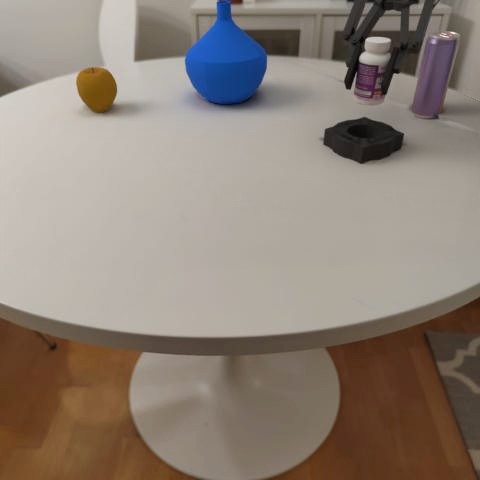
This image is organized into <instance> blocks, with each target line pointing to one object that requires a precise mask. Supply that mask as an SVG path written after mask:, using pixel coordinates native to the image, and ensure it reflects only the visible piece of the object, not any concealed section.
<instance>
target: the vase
mask: <svg viewBox="0 0 480 480" xmlns="http://www.w3.org/2000/svg"><path fill="white" fill-rule="evenodd" d="M186 51H187V52H186V53H185V58H184V64H185V72H186V75H187V77H188V79H189V81H190V83H191V85H192V87H193V88H194V89H195V90H196V92H197V93H198V94H199V95H200V96H201V97H203V98H204V99H205V100H206V101H208V102H210V103H214V104H219V105H232V104H238V103H239V104H240V103H242V102H244V101H247V100H248V99H250V97H252V96H253V95H254V94H255V93H256V92H257V90H258V89H259V88H260V86H261V85H262V82H263V80H264V77H265V74H266V72H267V69H268V55H267V52H266V49H265V48H264V47H263V46H262V45H261V44H260V43H258V42H257V41H256V40H255V39H253V38H252V37H251V36H250V35H248V34H247V33H246V32H245V31H244V30H243V29H242V28H241V27H239V26H238V25H237V24H236V22H235V20H234V19H233V16H232V2H231V0H218V1H216V19H215V22H214V23H213V25H212V26H211V27H210V28H209V29H208V30H207V31H206V32H205V33H204V34H203V36H202V37H201V38H199V39H198V40H197V41H196V42H195V43H194V44H193V45H192V46H191V47H190V48H189V49H188V50H186Z"/></svg>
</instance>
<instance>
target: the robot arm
mask: <svg viewBox="0 0 480 480" xmlns="http://www.w3.org/2000/svg"><path fill="white" fill-rule="evenodd" d="M367 1H368V0H354V2H353V3H352V7H351V9H350V12H349V14H348V17H347V20H346V23H345V26H344V28H343V30H342V33H341V38H342V41H343V46H344V47H348V50H347V53H346V56H345V60H344V61H345V66H346V68H347V70H346V73H345V76H344V79H343V83H344V86H345V89H346V90H347V91H348V90H349V91H351V90H352V87H353V84H354V82H355V79H356V74H357V67H358V60H359V56H360V55H361V54H362V53H363V52H364V50H363V45H364V44H365V41H366V39H367V38H369V36H370V34H371V33H372V31H373V30H374V28H375V27H376V25H377V23H378V22H379V20H380V19H381V18H382V17H383V16H384V15H385V13H386V12H387V11H396V12H400V26H399V47H398V46H394V47H393V48H392V51H391V53H390V55H391V57H390V60H389V63H388V66H387V69H386V72H385V75H384V78H383V81H382V84H381V92H382V94H383V95H385V96H387V94H388V93H389V92H388V91H389V89H390V86H391V83H392V80H393V77H394V74H395V75H400V74H401V73H402V70H403V67H404V64H405V61H406V58H407V56H409V55H410V54H413V55H418V54H420V53H421V51H422V47H423V45H424V40H425V38H426V34H427V30H428V27H429V23H430V22H431V21H430V20H431V18H432V14H433V11H434V9H435V8H436V6H438V4H439V2H440V1H441V0H423V6H422V9H421V12H420V15H419V18H418V22H417V26H416V29H415V32H414V36H413V38H412V40H410V41H409V38H410V37H409V36H410V35H409V33H410V15H411V14H410V11H411V6H412V5H413V4H415V3H416V2H417V1H418V0H374V1H373V4H372V6H371V8H370V9H369V10H368V12H367V13H366V15H365V16H364V18H363V20H362V21H361V23H360V20H361V18H362V15H363V13H364V10H365V7H366V2H367Z"/></svg>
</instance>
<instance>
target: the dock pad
mask: <svg viewBox="0 0 480 480" xmlns="http://www.w3.org/2000/svg"><path fill="white" fill-rule="evenodd" d="M404 137H405V133H404V132H402V131H400V130H397V129H395V128H394V127H393V126H392V125H391V124H388V123H385V122H383V121H379V120H374V119H371V118H369V117H366V116H362V117H359V118H356V119H355V118H354V119H346V120H343V121H340V122H337V123H336V124H334V125H333V126H330V127H327V128H324V135H323V145H324V146H326V147H328V148H329V149H331V151H332V152H333V153H334V154H337V155H338V156H340V157H342V158H345V159H349V160H353V161H355V162H357V163H358V164H361V165H362V164H364V163H367V162H370V161H378V160H382V159H385V158H388V157H389V156H391V155H392V154H393V153H395V152H398V151H401V150H402V147H403V142H404Z"/></svg>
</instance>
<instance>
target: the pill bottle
mask: <svg viewBox="0 0 480 480" xmlns="http://www.w3.org/2000/svg"><path fill="white" fill-rule="evenodd" d="M391 45H392V39H391V38H389V37H386V36H385V37H384V36H370V37H367V39H366V40H365V42H364V46H363V47H364V50H365V51H363V53H362V54H361V55H360V56H359V60H358V67H357V72H356V75H355V80H354V82H355V83H354V88H353V89H354V90H353V96H352V100H353V101H354V102H355V103H356V104H359V105H362V106H369V107H371V106H372V107H373V106H378V105H381V104H383V103H384V101H385V99H386V95H383V94H382V92H381V84H382V81H383V78H384V75H385V72H386V69H387V66H388V63H389V60H390V57H391V53H390V52H388V51H390V49H391Z"/></svg>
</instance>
